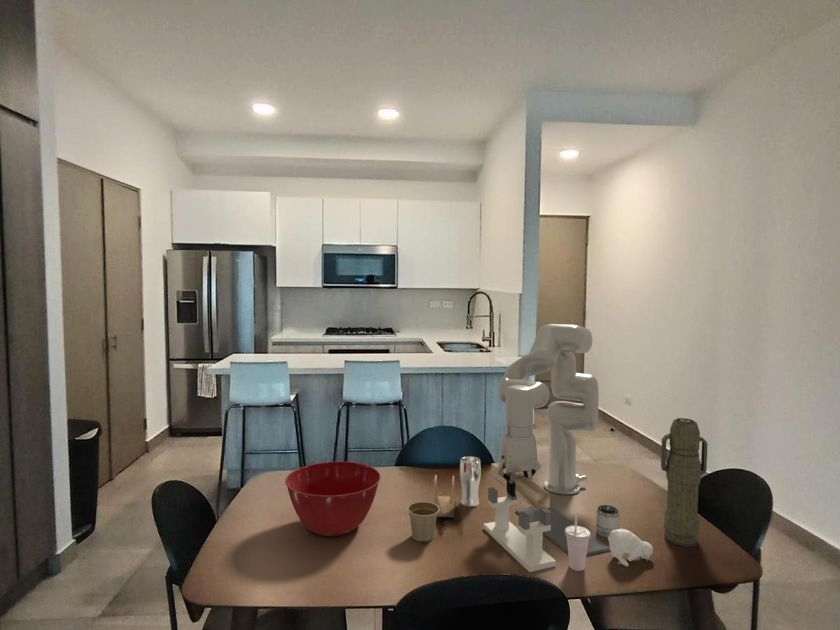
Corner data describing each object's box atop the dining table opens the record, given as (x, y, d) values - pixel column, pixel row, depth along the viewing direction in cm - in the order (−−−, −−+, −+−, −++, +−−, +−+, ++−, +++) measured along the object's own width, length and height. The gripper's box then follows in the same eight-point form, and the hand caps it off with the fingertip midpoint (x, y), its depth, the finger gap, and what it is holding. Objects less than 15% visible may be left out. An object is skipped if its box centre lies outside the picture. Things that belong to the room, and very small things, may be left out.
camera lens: (595, 536, 150) (596, 510, 150) (596, 527, 156) (597, 501, 155) (618, 540, 148) (619, 514, 147) (618, 530, 154) (619, 505, 153)
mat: (546, 506, 170) (546, 503, 170) (609, 550, 142) (610, 547, 142) (515, 511, 166) (515, 509, 166) (574, 558, 138) (574, 555, 138)
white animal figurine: (606, 524, 139) (646, 525, 141) (603, 555, 139) (643, 555, 141) (619, 535, 133) (661, 536, 135) (616, 567, 133) (657, 567, 135)
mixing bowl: (333, 498, 176) (333, 454, 175) (399, 521, 159) (399, 472, 158) (266, 530, 153) (265, 480, 152) (334, 560, 136) (334, 504, 135)
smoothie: (560, 560, 137) (561, 509, 136) (583, 559, 137) (585, 509, 136) (569, 574, 130) (570, 521, 129) (593, 573, 131) (595, 520, 130)
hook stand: (506, 524, 157) (507, 481, 157) (555, 566, 134) (556, 516, 133) (483, 528, 155) (484, 484, 154) (529, 572, 131) (530, 521, 130)
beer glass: (480, 499, 175) (480, 456, 175) (480, 508, 169) (481, 463, 168) (459, 498, 176) (460, 455, 175) (459, 507, 169) (459, 462, 168)
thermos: (709, 547, 144) (714, 424, 142) (666, 545, 145) (670, 424, 143) (695, 532, 153) (699, 416, 151) (654, 530, 154) (658, 415, 151)
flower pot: (443, 532, 152) (443, 504, 152) (433, 547, 143) (433, 517, 143) (413, 527, 155) (413, 499, 155) (402, 542, 146) (402, 512, 146)
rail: (503, 474, 156) (503, 461, 155) (549, 507, 133) (549, 492, 133) (491, 476, 154) (491, 463, 154) (536, 510, 132) (536, 495, 131)
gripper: (537, 423, 149) (536, 484, 150) (485, 429, 143) (485, 493, 144) (552, 430, 142) (551, 494, 143) (499, 437, 136) (498, 504, 137)
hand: (518, 493), depth 144 cm, fingers closed on rail, 4 cm apart
